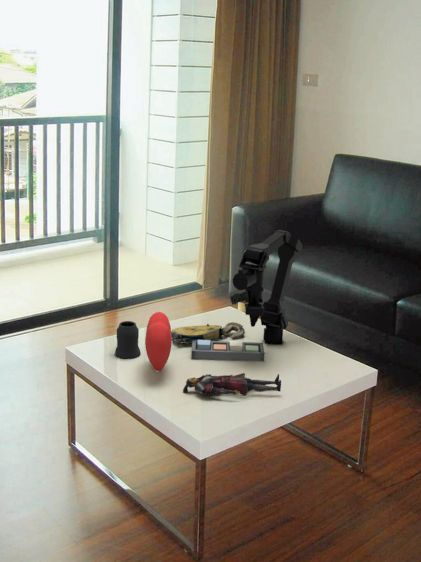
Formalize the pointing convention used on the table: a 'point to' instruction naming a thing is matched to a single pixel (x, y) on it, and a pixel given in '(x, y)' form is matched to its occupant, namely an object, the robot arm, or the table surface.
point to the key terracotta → (219, 347)
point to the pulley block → (206, 332)
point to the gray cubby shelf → (228, 352)
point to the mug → (127, 341)
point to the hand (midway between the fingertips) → (252, 326)
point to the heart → (158, 340)
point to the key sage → (251, 348)
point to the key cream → (236, 346)
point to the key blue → (203, 345)
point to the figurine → (229, 384)
